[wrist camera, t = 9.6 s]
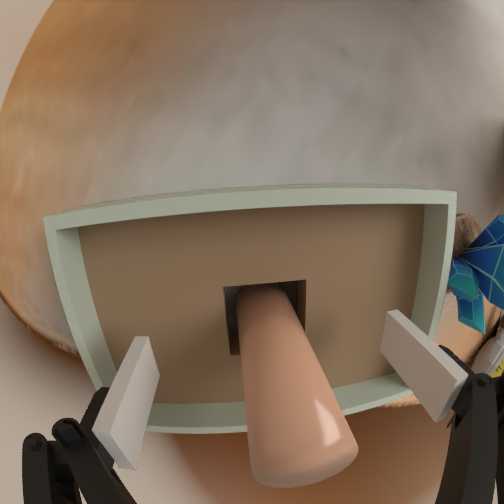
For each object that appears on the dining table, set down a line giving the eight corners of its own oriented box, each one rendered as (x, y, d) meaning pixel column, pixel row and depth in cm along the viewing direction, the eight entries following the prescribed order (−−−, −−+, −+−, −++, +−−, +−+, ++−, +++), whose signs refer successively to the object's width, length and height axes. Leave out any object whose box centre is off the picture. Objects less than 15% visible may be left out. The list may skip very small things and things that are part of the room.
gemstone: (412, 252, 19) (527, 315, 8) (469, 195, 19) (574, 221, 7) (434, 311, 21) (517, 380, 10) (485, 256, 20) (569, 298, 9)
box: (83, 205, 16) (42, 217, 11) (412, 185, 18) (456, 191, 13) (131, 388, 21) (116, 428, 16) (389, 360, 22) (415, 393, 17)
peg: (234, 281, 19) (248, 448, 6) (286, 276, 19) (369, 425, 6) (238, 326, 20) (254, 492, 7) (286, 321, 20) (347, 475, 7)
